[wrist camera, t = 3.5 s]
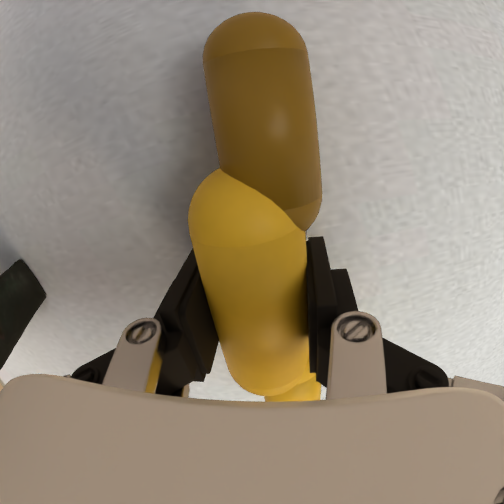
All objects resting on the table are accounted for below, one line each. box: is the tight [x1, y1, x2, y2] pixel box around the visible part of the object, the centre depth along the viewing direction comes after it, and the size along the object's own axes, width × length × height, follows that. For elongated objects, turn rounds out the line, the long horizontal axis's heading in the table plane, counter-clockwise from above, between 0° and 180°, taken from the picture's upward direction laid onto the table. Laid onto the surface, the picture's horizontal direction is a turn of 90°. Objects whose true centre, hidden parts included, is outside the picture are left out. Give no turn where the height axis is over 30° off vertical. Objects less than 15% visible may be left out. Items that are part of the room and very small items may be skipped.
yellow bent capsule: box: [188, 12, 322, 402], centre depth 10 cm, size 18×4×3 cm, turn 8°
